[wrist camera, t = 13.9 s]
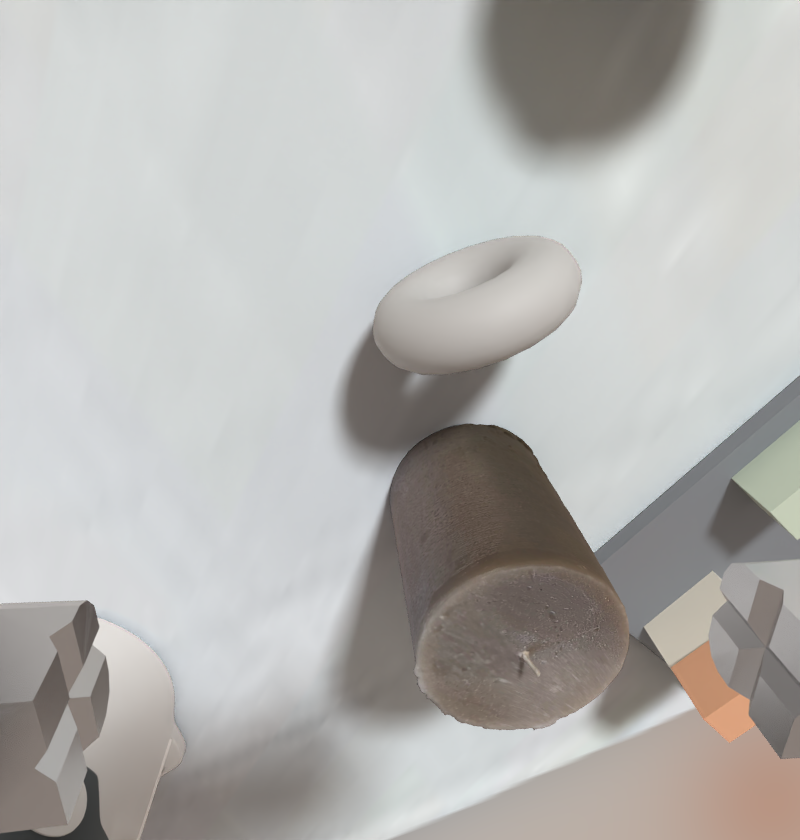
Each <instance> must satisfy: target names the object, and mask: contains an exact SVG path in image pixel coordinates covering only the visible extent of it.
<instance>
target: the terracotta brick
mask: <svg viewBox="0 0 800 840" xmlns="http://www.w3.org/2000/svg"><path fill="white" fill-rule="evenodd" d="M671 669H672V671H673V672H674V674H675V675H676V677H677V679H678V680H679V682H680V683H681V685H682V686H683V688H684V690H685V691H686V693H687V694H688V696H689V697H690V699H691V701H692V702H693V704H694V705H695V707H696V708H697V710H698V712H699V713H700V715H701V716H702V718H703V719H704V720H705V721H706V722H707V723H708V724H709V725H710V726H712V727H713V728H714V729H715V730H716V731H717V732H718V733H719V734H720V735H722V736H723V737H724V738H725V739H726V740H727V741H728V742H729V743H730V742H731V741H733V740H734V739H736V738H737V737H739V736H740V735H742V734H743V733H745V732H746V731H748V730H749V729H751V728H752V727H754V726H755V725H756V724H755V723H754V722H753V720H752V719H751V717H750V716H749V715H748V714H749V702H750V700H749V699H748V698H746V697H744V696H743V695H741V694H739V693H738V692H736V691H734V690H733V689H731V688H729V687H728V686H727V684H726V683H725V681H724V680H723V678H722V677H721V675H720V674H719V673H718V671H717V668H716V666H715V664H714V661H713V659H712V657H711V651H710V644H709V640H708V641H707V642H706V643H704V644H703V645H701V646H700V647H699V648H697V649H696V650H695V651H693V652H692V653H690V654H689V655H688V656H686V657H685V658H684V659H682V660H681V661H679V662H678V663H677V664H675V665H674V666H672V667H671Z"/></svg>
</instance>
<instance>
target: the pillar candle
mask: <svg viewBox="0 0 800 840" xmlns="http://www.w3.org/2000/svg"><path fill="white" fill-rule="evenodd" d="M390 507H391V514H392V519H393V525H394V532H395V538H396V545H397V551H398V557H399V563H400V569H401V576H402V582H403V588H404V594H405V601H406V606H407V612H408V618H409V624H410V630H411V636H412V643H413V648H414V654H415V661H416V664H415V668H414V674H415V676H417V678H418V680H417V681H418V683H417V685H418V686H419V688H420V691H421V692H422V693H424V694H426V696H427V699H430V700H431V701H432V702H433V703H435V704H436V705H437V707H438V708H439V709H440V710H441V711H442V713H444V715H451V716H452V717H454V718H455V719H456V720H457V721H459V722H461V723H467V724H470V725H473V726H481V727H483V728H484V729H497V730H502V729H503V730H515V729H527V728H533V729H534V730H535V729H538V728H545V727H548V726H550V725H552V724H554V723H556V721H557V720H558V719H560V718H562V717H566V716H568V715H569V714H571V713H574V712H576V711H578V710H579V709H580V708H582V707H584V706H585V705H587V704H588V703H590V702H591V701H592V700H593V699H595V698H596V697H598V696H599V695H600V694H601V693H602V692H603V691H604V690H605V689H606V688H607V687H608V685H609V684H610V683H611V682H612V681H613V679H614V678H615V677H616V676H617V675H618V673H619V672H620V670H621V668H622V666H623V663H624V660H625V658H626V655H627V651H628V647H629V623H628V618H627V614H626V611H625V607H624V605H623V603H622V602H621V600H620V598H619V596H618V594H617V593H616V591H615V589H614V587H613V586H612V584H611V582H610V580H609V579H608V577H607V575H606V573H605V571H604V570H603V568H602V567H601V565H600V564H599V562H598V560H597V558H596V557H595V555H594V553H593V551H592V550H591V548H590V546H589V545H588V543H587V541H586V540H585V538H584V536H583V535H582V533H581V531H580V530H579V528H578V527H577V525H576V523H575V521H574V520H573V518H572V516H571V515H570V513H569V511H568V510H567V508H566V507H565V506H564V504H563V502H562V501H561V499H560V497H559V495H558V494H557V492H556V491H555V489H554V487H553V486H552V484H551V483H550V481H549V480H548V478H547V475H546V474H545V473H544V472H543V470H542V468H541V466H540V465H539V462H538V460H537V458H536V456H535V455H533V452H532V449H531V448H530V447H529V446H528V445H527V444H526V443H525V442H524V441H523V440H522V439H520V438H519V437H517V436H516V435H514V434H513V433H511V432H510V431H508V430H506V429H503V428H500V427H498V426H495V425H481V424H479V425H474V424H462V425H457V426H453V427H448V428H445V429H443V430H440V431H438V432H436V433H434V434H432V435H430V436H429V437H427V438H425V439H424V440H422V441H420V442H419V443H418V444H417V445H415V446H414V447H413V448H412V449H411V450H410V451H409V452H408V453H407V455H406V456H405V457H404V458H403V460H402V461H401V463H400V465H399V467H398V468H397V470H396V473H395V475H394V478H393V482H392V486H391V492H390Z"/></svg>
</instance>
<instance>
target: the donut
mask: <svg viewBox="0 0 800 840" xmlns="http://www.w3.org/2000/svg"><path fill="white" fill-rule="evenodd" d="M581 284H582V276H581V270H580V267H579V265H578V263H577V261H576V259H575V258H574V257H573V255H572V254H571V253H570V251H569V250H568V249H567V248H566V247H565V246H564V245H563V244H561V243H559V242H557V241H555V240H552V239H548V238H545V237H541V236H511V237H505V238H499V239H494V240H490V241H486V242H483V243H479V244H475V245H472V246H469V247H466V248H463V249H461V250H458V251H455V252H453V253H450V254H447V255H445V256H443V257H441V258H439V259H437V260H434V261H432V262H430V263H428V264H426V265H424V266H423V267H421V268H419V269H418V270H416V271H414V272H412V273H411V274H409V275H408V276H406V277H405V278H404V279H402V280H401V281H400V282H398V283H397V284H396V285H395V286H394V287H393V288H392V289H391V290H390V291H389V292H388V293H387V294H386V295H385V297H384V298H383V299H382V300H381V301H380V303H379V305H378V307H377V309H376V312H375V317H374V324H373V336H374V340H375V343H376V345H377V346H378V348H379V350H380V351H381V352H382V354H383V355H384V356H385V357H386V358H387V359H388V361H390V362H391V363H392V364H393V365H395V366H396V367H398V368H401V369H404V370H407V371H411V372H414V373H418V374H421V375H446V374H453V373H458V372H464V371H469V370H474V369H479V368H482V367H485V366H488V365H491V364H494V363H497V362H500V361H503V360H505V359H508V358H510V357H512V356H514V355H516V354H518V353H520V352H522V351H524V350H526V349H528V348H530V347H532V346H534V345H535V344H536V343H538V342H539V341H541V340H542V339H544V338H545V337H547V336H548V335H549V334H551V333H552V332H554V331H555V330H556V329H557V328H558V327H559V326H560V325H561V324H562V323H563V322H564V321H565V319H566V318H567V317H568V316H569V315H570V314H571V312H572V311H573V309H574V308H575V306H576V303H577V299H578V295H579V292H580V288H581Z"/></svg>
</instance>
